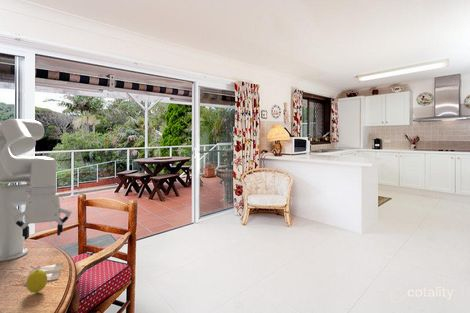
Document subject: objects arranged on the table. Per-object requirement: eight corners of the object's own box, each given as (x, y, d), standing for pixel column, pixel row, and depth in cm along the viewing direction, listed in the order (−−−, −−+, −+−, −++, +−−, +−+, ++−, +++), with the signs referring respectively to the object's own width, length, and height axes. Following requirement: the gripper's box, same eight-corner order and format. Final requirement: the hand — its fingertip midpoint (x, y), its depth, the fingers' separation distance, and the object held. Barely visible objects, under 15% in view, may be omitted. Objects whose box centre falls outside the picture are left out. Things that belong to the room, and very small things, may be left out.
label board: (33, 268, 99) (33, 267, 99) (63, 263, 104) (63, 262, 104) (23, 286, 87) (23, 285, 87) (58, 279, 91) (58, 278, 91)
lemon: (35, 299, 80) (35, 275, 80) (22, 296, 81) (22, 272, 81) (51, 289, 85) (51, 267, 85) (38, 287, 86) (38, 265, 86)
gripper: (9, 194, 83) (9, 243, 84) (70, 191, 91) (70, 236, 92) (16, 190, 90) (16, 236, 90) (72, 188, 98) (72, 230, 99)
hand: (43, 236), depth 91 cm, fingers open, 9 cm apart
